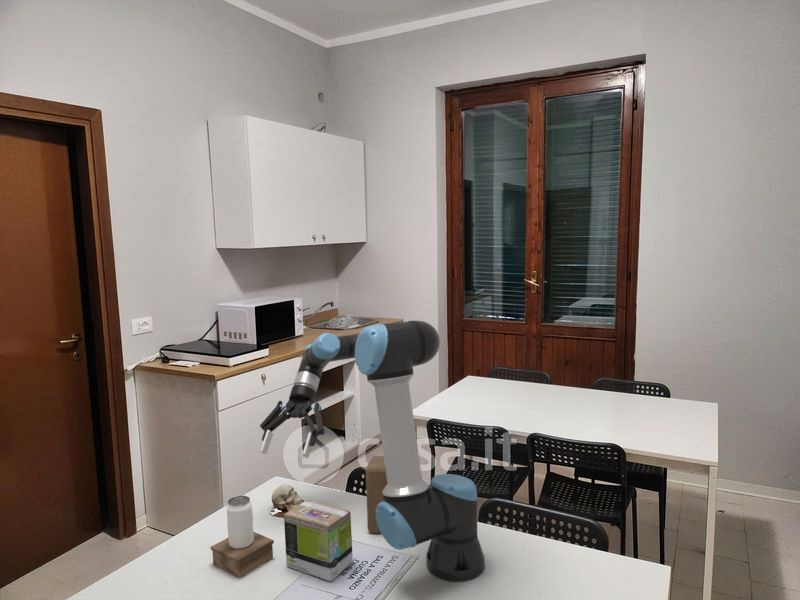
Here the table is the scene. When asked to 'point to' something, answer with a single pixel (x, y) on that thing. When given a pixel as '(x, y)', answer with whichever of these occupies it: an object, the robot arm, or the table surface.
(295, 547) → the tea box
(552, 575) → the table surface
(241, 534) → the can
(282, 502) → the skull
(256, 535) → the pedestal
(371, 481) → the block
